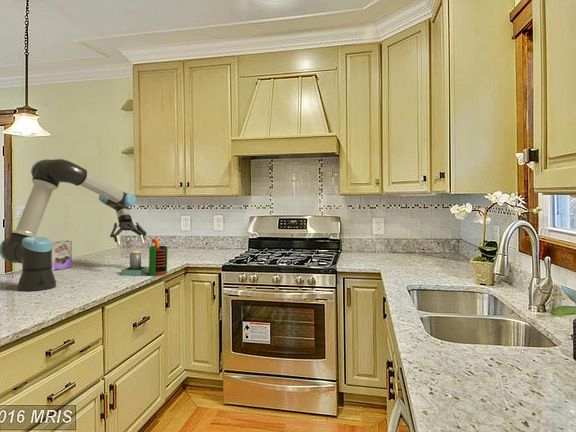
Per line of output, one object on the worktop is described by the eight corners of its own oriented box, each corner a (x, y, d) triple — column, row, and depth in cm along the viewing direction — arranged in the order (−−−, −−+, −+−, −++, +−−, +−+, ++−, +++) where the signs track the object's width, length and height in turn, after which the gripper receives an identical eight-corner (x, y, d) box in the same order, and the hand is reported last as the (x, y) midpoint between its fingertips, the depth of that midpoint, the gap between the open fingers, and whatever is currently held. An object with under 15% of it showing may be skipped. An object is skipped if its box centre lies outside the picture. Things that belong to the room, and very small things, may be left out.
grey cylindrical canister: (138, 273, 213) (138, 252, 213) (127, 273, 214) (127, 251, 213) (142, 271, 219) (142, 250, 219) (132, 271, 220) (132, 250, 219)
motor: (159, 276, 210) (160, 240, 209) (145, 275, 212) (145, 239, 211) (169, 273, 220) (169, 238, 219) (155, 272, 222) (155, 238, 221)
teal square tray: (142, 276, 211) (142, 270, 211) (121, 275, 211) (121, 269, 211) (150, 272, 222) (150, 266, 222) (130, 271, 222) (130, 266, 222)
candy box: (51, 271, 219) (50, 242, 218) (43, 270, 221) (43, 242, 220) (72, 267, 232) (72, 240, 231) (65, 266, 234) (64, 239, 233)
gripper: (144, 221, 244) (151, 247, 233) (101, 222, 229) (107, 250, 218) (146, 213, 240) (154, 239, 228) (103, 213, 224) (109, 242, 213)
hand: (131, 245), depth 223 cm, fingers open, 13 cm apart
